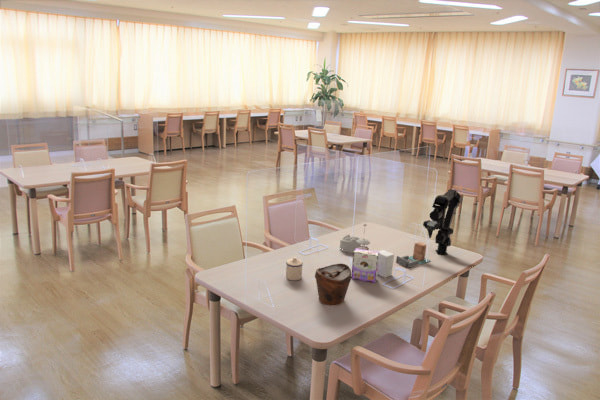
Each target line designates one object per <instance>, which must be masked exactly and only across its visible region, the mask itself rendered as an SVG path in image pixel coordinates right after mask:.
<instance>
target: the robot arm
mask: <svg viewBox="0 0 600 400" xmlns="http://www.w3.org/2000/svg"><path fill="white" fill-rule="evenodd" d="M462 201H463V199H462V195H461V194H460V193H459V192H458V190H456V189H451V188H450V189H448V190H447V191H446V192H445V193H444V194H438V195H437V196H435V198H434V200H433V204H432V208H434V209H433V210H432V211H431V212H430V213H429V218H430V219H431V220H425V221H423V222H422V226H423V227H424V228H425V229H426V230H427V233H428V238H429V239H431V238H432V236H433V232H435V230H438V231H437V233H436V235H435V239H434V240H435V244H437V249H435V253H437V255H444V256H445V255H449V254H448V252H447V251H448V247H451V244H452V240H451V235H452V234H454V229H453V228H451V225H452V222H453V218H454V215H455V212H456V209H458V207H460V205H461V203H462ZM446 210H447V211H446Z"/></svg>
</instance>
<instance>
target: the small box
mask: <svg viewBox="0 0 600 400" xmlns="http://www.w3.org/2000/svg"><path fill="white" fill-rule="evenodd" d="M377 252H380V254H379V264H378V274H377V276H380V277H382V278H387V277H390V276H392V275H393V267H394V258H395V254H394V253H392V252H389V251H387V250H385V249H382V250H378V251H377Z"/></svg>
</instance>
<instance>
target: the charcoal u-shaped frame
mask: <svg viewBox="0 0 600 400" xmlns="http://www.w3.org/2000/svg"><path fill="white" fill-rule="evenodd" d="M409 257H410V255H408V254H407V255H403V256H400V255H397V256H396V260H395V263H397V264H399V265H401V266H403V267H405V268H411V267H414V266H417V265H419V264H418V262H419V260H415V261H410V260H409Z"/></svg>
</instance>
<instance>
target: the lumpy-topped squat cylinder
mask: <svg viewBox="0 0 600 400" xmlns="http://www.w3.org/2000/svg"><path fill="white" fill-rule="evenodd" d="M359 239H361V238H359V236H357V235H355V234H353V235H351V234H345V235H344V236H342V237H340V241H339V251H341V252H344V253H353V252H354V250H355V249H356V248H357V247H358V246H362V245H361V244H358V243H357V240H359ZM340 248H341V249H340ZM342 249H343V250H342Z"/></svg>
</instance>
